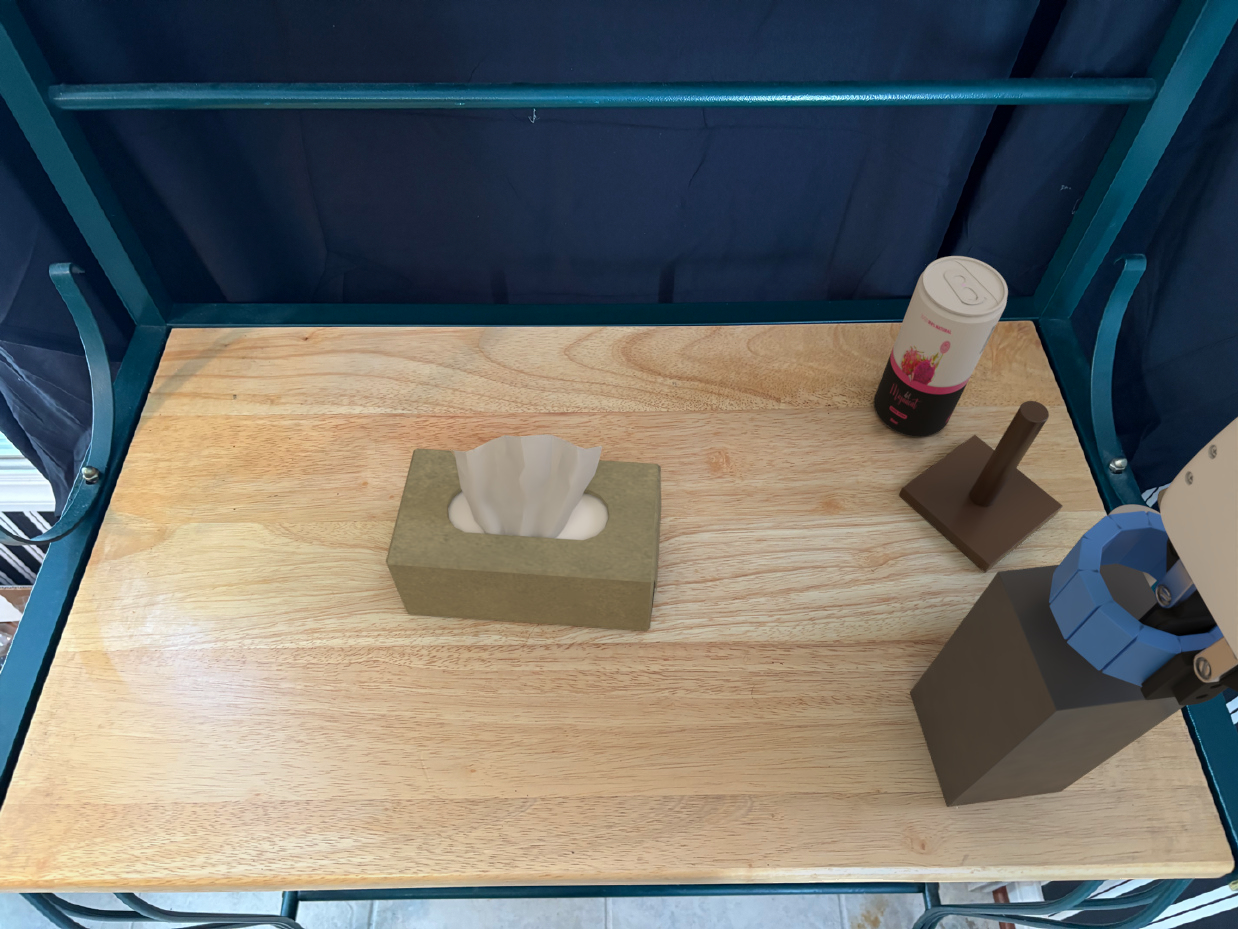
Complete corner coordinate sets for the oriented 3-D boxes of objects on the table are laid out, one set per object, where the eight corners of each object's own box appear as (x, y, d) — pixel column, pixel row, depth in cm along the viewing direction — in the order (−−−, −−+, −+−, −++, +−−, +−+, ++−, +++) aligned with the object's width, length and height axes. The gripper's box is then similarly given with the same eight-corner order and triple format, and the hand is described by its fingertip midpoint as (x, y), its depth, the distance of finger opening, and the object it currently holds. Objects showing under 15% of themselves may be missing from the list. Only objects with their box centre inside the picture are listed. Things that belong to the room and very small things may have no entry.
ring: (1239, 627, 45) (1283, 593, 42) (1150, 717, 42) (1190, 687, 39) (1108, 524, 49) (1140, 485, 46) (1018, 601, 46) (1046, 565, 43)
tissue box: (659, 520, 73) (670, 394, 60) (653, 632, 67) (664, 520, 54) (427, 505, 74) (389, 377, 61) (402, 615, 68) (354, 499, 55)
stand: (1057, 513, 74) (1127, 421, 64) (985, 572, 71) (1047, 485, 61) (970, 442, 78) (1023, 345, 68) (898, 495, 75) (943, 401, 65)
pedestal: (1061, 791, 61) (1205, 692, 46) (947, 807, 60) (1056, 711, 46) (1016, 679, 66) (1134, 555, 51) (909, 692, 65) (998, 571, 50)
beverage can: (892, 447, 77) (946, 323, 65) (860, 390, 81) (905, 263, 69) (961, 431, 79) (1027, 306, 66) (926, 375, 82) (982, 247, 70)
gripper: (1766, 646, 24) (1327, 828, 39) (1400, 257, 33) (1156, 524, 48) (1511, 680, 24) (1164, 851, 39) (1209, 274, 33) (1022, 539, 48)
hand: (1161, 669), depth 43 cm, fingers closed on ring, 1 cm apart
